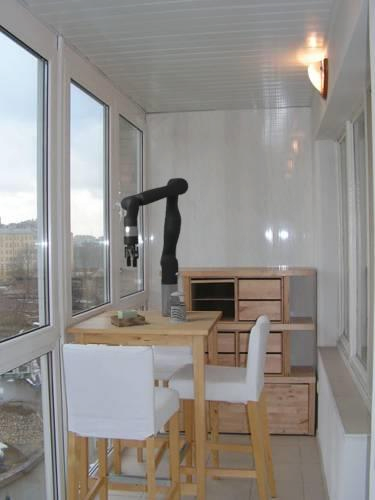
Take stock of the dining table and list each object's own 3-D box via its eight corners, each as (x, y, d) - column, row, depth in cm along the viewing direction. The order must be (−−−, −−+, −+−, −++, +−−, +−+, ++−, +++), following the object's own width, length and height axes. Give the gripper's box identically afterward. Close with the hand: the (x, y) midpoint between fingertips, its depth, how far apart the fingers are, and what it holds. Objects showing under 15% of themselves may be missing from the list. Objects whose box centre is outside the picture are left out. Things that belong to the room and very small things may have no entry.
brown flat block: (135, 321, 282) (135, 313, 282) (145, 324, 271) (144, 316, 271) (111, 323, 276) (110, 315, 276) (119, 327, 265) (119, 318, 265)
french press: (186, 323, 272) (185, 273, 272) (163, 323, 274) (162, 273, 274) (190, 320, 282) (188, 271, 281) (168, 319, 284) (166, 271, 283)
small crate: (133, 321, 278) (132, 309, 278) (137, 322, 273) (137, 310, 273) (118, 322, 274) (117, 311, 274) (122, 324, 269) (122, 312, 269)
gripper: (142, 235, 278) (143, 267, 278) (132, 235, 290) (133, 265, 291) (129, 235, 274) (129, 267, 275) (119, 235, 287) (120, 266, 287)
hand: (131, 266), depth 283 cm, fingers open, 8 cm apart
